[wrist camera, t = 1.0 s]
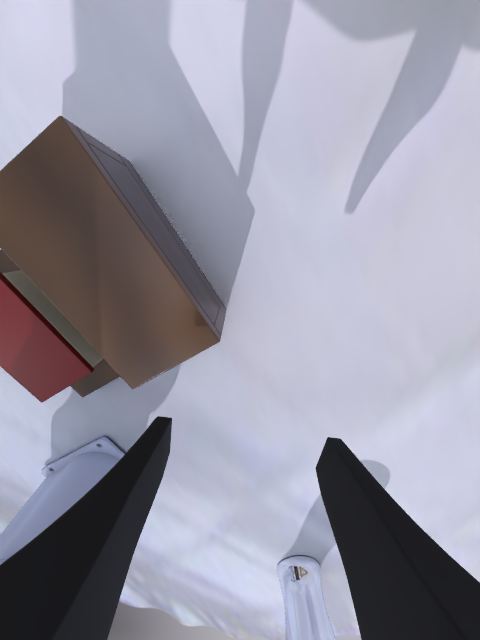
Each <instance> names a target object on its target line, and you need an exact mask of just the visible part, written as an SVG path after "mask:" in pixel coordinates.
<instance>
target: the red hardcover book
mask: <svg viewBox="0 0 480 640" xmlns="http://www.w3.org/2000/svg"><path fill="white" fill-rule="evenodd" d="M103 359H104V358H103V357H102V356H101V355H100V354H99V353H98V352H97V351H96V350H95V348H94V347H93V346H92V345H91V344H90V343H89V342H88V341H87V340H86V339H85V338H84V337H83V336H82V335H81V333H80V332H79V331H78V330H77V329H76V328H75V327H74V326H73V325H72V324H71V323H70V322H69V321H68V320H67V318H66V317H65V316H64V315H63V314H62V313H61V312H60V311H59V310H58V309H57V308H56V307H55V306H54V305H53V304H52V302H51V301H50V300H49V299H48V298H47V297H46V296H45V295H44V294H43V293H42V292H41V291H40V290H39V289H38V287H37V286H36V285H35V284H34V283H33V282H32V281H31V280H30V279H29V278H28V277H27V276H26V275H25V274H24V272H23V271H22V270H21V271H15V272H8V273H1V272H0V366H1V367H2V368H3V369H4V370H5V371H6V372H7V373H9V374H10V375H11V376H12V377H13V378H14V379H15V380H16V381H18V382H19V383H20V384H21V385H22V386H23V387H24V388H26V389H27V390H28V391H29V392H30V393H31V394H32V395H34V396H35V397H36V398H37V399H38V400H39V401H40V402H44V401H45V400H47V399H49V398H50V397H52V396H54V395H55V394H57V393H59V392H60V391H62V390H64V389H65V388H67V387H69V386H70V385H72V384H74V383H75V382H77V381H79V380H80V379H82V378H84V377H85V376H87V375H89V374H90V373H92V372H93V371H94V370H95V369H94V368H93V367H94V366H95V365H96V364H97V363H99V362H100V361H101V360H103Z"/></svg>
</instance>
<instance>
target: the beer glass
mask: <svg viewBox="0 0 480 640" xmlns="http://www.w3.org/2000/svg"><path fill="white" fill-rule="evenodd" d="M277 573H278V578H279V582H280V586H281V590H282V595H283V601H284V609H285V632H286V640H337V639H336V636H335V633H334V631H333V628H332V624H331V621H330V618H329V615H328V611H327V608H326V604H325V599H324V594H323V587H322V577H321V569H320V565H319V563H318V562H317V561H316V560H315V559H313V558H310V557H306V556H293V557H289V558H286V559H284V560H283V561H281V562H280V563H279V565H278V567H277Z"/></svg>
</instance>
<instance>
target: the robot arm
mask: <svg viewBox="0 0 480 640" xmlns="http://www.w3.org/2000/svg"><path fill="white" fill-rule="evenodd" d="M171 425H172V418H167V417H159V416H158V417H157V418H155V420H154V421H153V422H152V424H151V425H150V426H149V427H148V429H147V430H146V431H145V432H144V433H143V435H142V436H141V437H140V438H139V439H138V440H137V442H136V443H135V444H134V445H133V446H132V447H131V448H130V449H129V451H128V452H127V453H126V454H124V453H123V452H122V451H121V450H120V449H119V448H118V447H117V446H115V445H114V444H113V443H112V442H111V441H110V440H109V439H108V438H106V437H102V438H100V439H98V440H96V441H94V442H92V443H90V444H88V445H86V446H84V447H82V448H80V449H78V450H76V451H75V452H73V453H71V454H69V455H67V456H65V457H63V458H61V459H59V460H57V461H55V462H53V463H51V464H49V465H48V466H46V467H44V468H43V469H42V470H41V474H42V475H44V476H45V477H46V479H45V480H44V481H43V483H42V484H41V485H40V486H39V488H38V489H37V490H36V491H35V492H34V494H33V495H32V496H31V497H30V499H29V500H28V501H27V502H26V504H25V505H24V506H23V507H22V509H21V510H20V511H19V512H18V514H17V515H16V516H15V517H14V519H13V520H12V521H11V522H10V524H9V525H8V526H7V527H6V528H5V530H4V531H3V532H2V533H1V535H0V640H107V638H108V635H109V632H110V628H111V625H112V622H113V618H114V615H115V612H116V608H117V605H118V602H119V599H120V595H121V592H122V589H123V586H124V582H125V579H126V576H127V573H128V569H129V566H130V563H131V560H132V557H133V554H134V551H135V548H136V545H137V542H138V540H139V537H140V535H141V532H142V529H143V527H144V524H145V522H146V519H147V516H148V514H149V511H150V509H151V506H152V503H153V501H154V498H155V496H156V493H157V490H158V488H159V485H160V483H161V480H162V477H163V474H164V470H165V467H166V463H167V460H168V456H169V453H170V442H171ZM316 472H317V477H318V482H319V487H320V491H321V495H322V499H323V502H324V505H325V508H326V512H327V515H328V518H329V521H330V524H331V527H332V530H333V534H334V537H335V540H336V543H337V546H338V549H339V552H340V555H341V558H342V562H343V565H344V569H345V572H346V576H347V579H348V583H349V587H350V592H351V596H352V600H353V604H354V608H355V612H356V616H357V621H358V625H359V630H360V634H361V639H362V640H480V583H479V582H478V581H477V580H476V579H475V578H474V577H473V576H472V575H470V574H469V573H468V572H467V571H466V570H465V569H464V568H463V567H461V566H460V565H459V564H458V563H457V562H456V561H455V560H454V559H453V558H452V557H451V556H449V555H448V554H447V553H446V552H445V551H444V550H443V549H442V548H441V547H440V546H439V545H438V544H437V543H436V542H435V541H434V540H433V539H432V538H431V537H430V536H429V535H428V534H427V533H425V532H424V531H423V530H422V529H421V528H420V527H419V526H418V525H417V524H416V523H415V522H414V521H413V519H412V518H411V517H410V516H409V515H408V514H407V513H406V512H405V511H404V510H403V509H402V508H401V507H400V506H399V505H398V504H397V503H396V502H395V500H394V499H393V498H392V497H391V496H390V495H389V494H388V493H387V492H386V491H385V489H384V488H383V487H382V486H381V485H380V484H379V483H378V482H377V480H376V479H375V478H374V477H373V476H372V475H371V474H370V472H369V471H368V470H367V469H366V468H365V467H364V465H363V464H362V463H361V462H360V461H359V460H358V458H357V457H356V456H355V455H354V454H353V453H352V451H351V450H350V449H349V448H348V447H347V446H346V444H345V443H344V442H343V441H342V440H341V439H338V438H330V437H328V438H327V440H326V443H325V446H324V448H323V451H322V453H321V456H320V458H319V461H318V463H317V466H316Z"/></svg>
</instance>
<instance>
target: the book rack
mask: <svg viewBox="0 0 480 640" xmlns="http://www.w3.org/2000/svg"><path fill="white" fill-rule="evenodd" d="M0 248H1V250H0V272H1V273H8V272H15V271H21V270H22V271H23V272H24V274H25V275H26V276H27V277H28V278H29V279H30V280H31V281H32V282H33V283H34V284H35V285H36V286H37V287H38V289H39V290H40V291H41V292H42V293H43V294H44V295H45V296H46V297H47V298H48V299H49V300H50V301H51V302H52V304H53V305H54V306H55V307H56V308H57V309H58V310H59V311H60V312H61V313H62V314H63V315H64V316H65V317H66V318H67V320H68V321H69V322H70V323H71V324H72V325H73V326H74V327H75V328H76V329H77V330H78V331H79V332H80V333H81V335H82V336H83V337H84V338H85V339H86V340H87V341H88V342H89V343H90V344H91V345H92V346H93V347H94V348H95V350H96V351H97V352H98V353H99V354H100V355H101V356H102V357H103V358H104V359H103V360H101V361H100V362H99V363H97V364H96V365H95V366H94V367H93V368H94V369H95V370H94V371H93V372H92V373H90V374H89V375H87V376H85V377H84V378H82V379H80V380H79V381H77V382H75V383H74V384H72V385H70V386H71V387H72V388H73V389H74V390H75V391H76V392H77V393H78V394H79V395H80V396H81V397H84V396H86V395H88V394H90V393H91V392H93V391H95V390H97V389H98V388H100V387H102V386H103V385H105V384H107V383H109V382H110V381H112V380H114V379H116V378H117V377H119V376H121V377H122V378H123V379H124V381H125V382H126V383H127V384H128V385H129V386H130V387H131V388H132V389H135V388H137V387H139V386H141V385H142V384H144V383H146V382H148V381H150V380H151V379H153V378H155V377H157V376H159V375H160V374H162V373H164V372H166V371H168V370H169V369H171V368H173V367H175V366H177V365H178V364H180V363H182V362H184V361H186V360H187V359H189V358H191V357H193V356H195V355H197V354H198V353H200V352H202V351H204V350H206V349H207V348H209V347H211V346H213V345H215V344H216V343H218V342H220V338H221V334H222V329H223V325H224V320H225V314H226V308H225V306H224V305H223V303H222V302H221V300H220V298H219V297H218V295H217V294H216V292H215V291H214V289H213V288H212V286H211V285H210V283H209V282H208V280H207V279H206V277H205V276H204V274H203V273H202V271H201V270H200V268H199V266H198V265H197V263H196V262H195V260H194V259H193V257H192V256H191V254H190V253H189V251H188V250H187V248H186V247H185V245H184V244H183V242H182V241H181V239H180V238H179V236H178V235H177V233H176V231H175V230H174V228H173V227H172V225H171V224H170V222H169V221H168V219H167V218H166V216H165V215H164V213H163V212H162V210H161V209H160V207H159V206H158V204H157V203H156V201H155V199H154V198H153V196H152V195H151V193H150V192H149V190H148V189H147V187H146V186H145V184H144V183H143V181H142V180H141V178H140V177H139V175H138V174H137V172H136V171H135V169H134V167H133V166H132V164H131V163H130V161H128V160H127V159H125V158H124V157H122V156H121V155H119V154H118V153H116V152H115V151H113V150H112V149H110V148H109V147H107V146H106V145H104V144H103V143H101V142H100V141H98V140H97V139H95V138H94V137H92V136H91V135H89V134H88V133H86V132H85V131H83V130H82V129H80V128H79V127H77V126H76V125H74V124H73V123H71V122H70V121H68V120H67V119H65V118H64V117H62V116H59V117H58V118H57V119H56V120H54V121H53V122H52V123H51V124H50V125H49V126H48V127H47V128H46V129H45V130H44V131H43V132H42V133H41V134H39V135H38V136H37V137H36V138H35V139H34V140H33V141H32V142H31V143H30V144H29V145H28V146H27V147H25V148H24V149H23V150H22V151H21V152H20V153H19V154H18V155H17V156H16V157H15V158H14V159H13V160H11V161H10V162H9V163H8V164H7V165H6V166H5V167H4V168H3V169H2V170H1V171H0Z"/></svg>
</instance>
